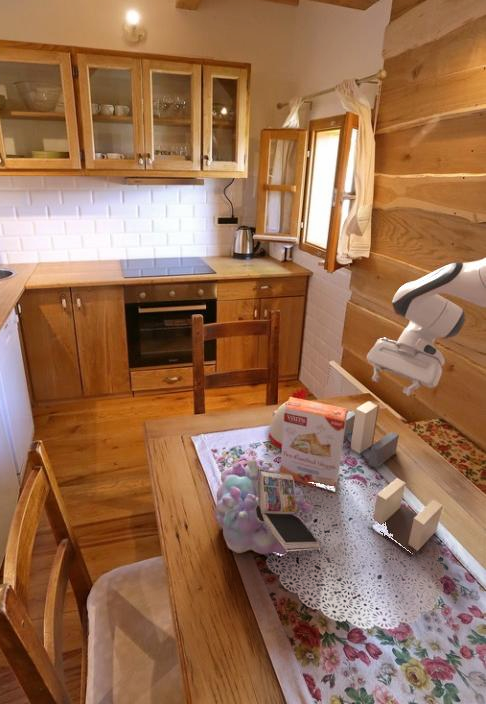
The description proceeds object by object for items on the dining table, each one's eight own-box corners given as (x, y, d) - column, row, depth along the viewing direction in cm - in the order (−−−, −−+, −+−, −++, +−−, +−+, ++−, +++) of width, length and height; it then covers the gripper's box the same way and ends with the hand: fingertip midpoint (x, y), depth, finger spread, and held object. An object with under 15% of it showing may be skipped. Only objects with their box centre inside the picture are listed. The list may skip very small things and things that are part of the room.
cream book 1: (400, 507, 92) (405, 482, 90) (381, 525, 87) (385, 499, 85) (392, 501, 93) (397, 477, 91) (372, 519, 89) (377, 494, 86)
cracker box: (278, 478, 102) (283, 407, 95) (284, 463, 108) (289, 395, 100) (335, 494, 98) (345, 420, 90) (338, 477, 103) (348, 406, 95)
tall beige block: (372, 444, 115) (379, 405, 111) (359, 453, 111) (365, 413, 107) (363, 439, 117) (369, 400, 113) (350, 448, 114) (355, 408, 109)
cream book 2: (436, 530, 86) (443, 505, 84) (417, 551, 81) (423, 524, 79) (427, 524, 88) (433, 499, 85) (408, 544, 83) (413, 518, 80)
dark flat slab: (435, 531, 88) (436, 526, 87) (411, 557, 82) (412, 552, 81) (395, 506, 94) (396, 501, 94) (371, 528, 88) (372, 523, 88)
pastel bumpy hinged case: (217, 469, 99) (211, 441, 85) (306, 468, 98) (315, 440, 84) (215, 565, 86) (208, 551, 72) (317, 566, 85) (330, 552, 71)
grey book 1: (355, 430, 121) (357, 413, 119) (334, 443, 115) (336, 426, 113) (349, 427, 123) (351, 410, 121) (328, 440, 117) (330, 422, 115)
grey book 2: (395, 453, 112) (399, 435, 110) (375, 468, 106) (378, 449, 104) (388, 449, 113) (392, 431, 111) (368, 464, 107) (371, 445, 105)
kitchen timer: (327, 438, 118) (332, 393, 113) (296, 458, 109) (300, 411, 104) (290, 417, 128) (293, 375, 123) (259, 434, 119) (261, 390, 114)
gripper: (376, 331, 123) (353, 369, 120) (446, 353, 107) (421, 397, 105) (383, 340, 127) (360, 378, 124) (450, 364, 112) (427, 406, 109)
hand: (389, 387), depth 115 cm, fingers open, 8 cm apart
